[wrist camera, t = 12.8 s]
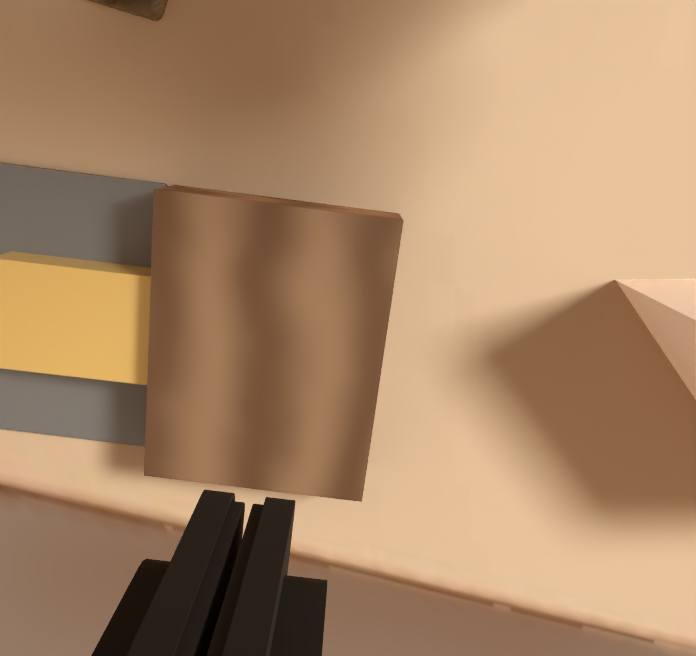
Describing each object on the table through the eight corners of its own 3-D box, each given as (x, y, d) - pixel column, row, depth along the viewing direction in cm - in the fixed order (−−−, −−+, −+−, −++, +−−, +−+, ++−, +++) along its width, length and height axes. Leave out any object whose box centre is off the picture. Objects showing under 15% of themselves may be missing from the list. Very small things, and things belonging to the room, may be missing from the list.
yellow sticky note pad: (168, 269, 39) (155, 277, 37) (165, 372, 41) (152, 385, 39) (12, 251, 39) (-12, 257, 36) (16, 354, 41) (-6, 367, 38)
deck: (399, 213, 38) (403, 220, 34) (361, 470, 43) (361, 501, 39) (174, 184, 38) (153, 188, 34) (163, 446, 43) (144, 475, 39)
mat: (166, 184, 38) (165, 184, 37) (156, 445, 43) (154, 447, 42) (-28, 159, 38) (-31, 159, 37) (-15, 424, 43) (-18, 426, 42)
